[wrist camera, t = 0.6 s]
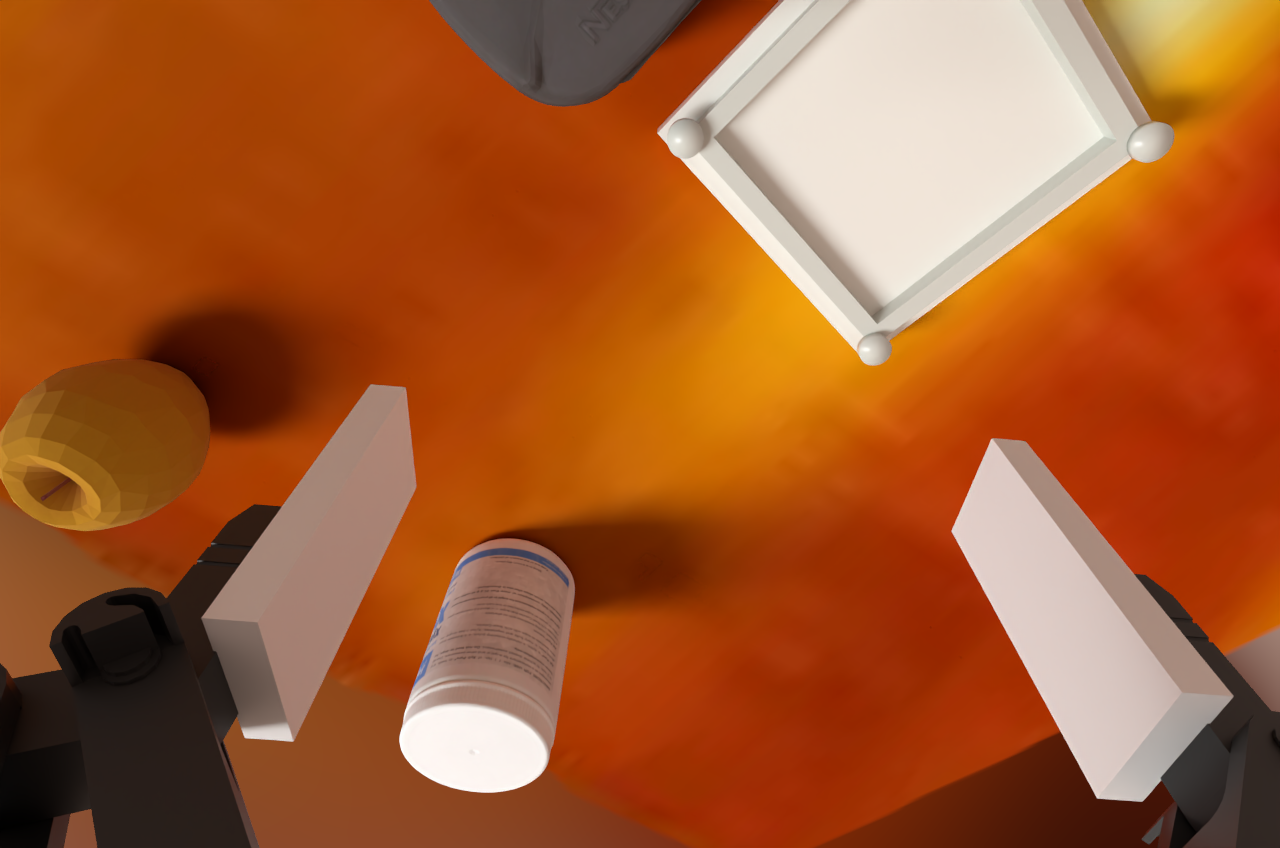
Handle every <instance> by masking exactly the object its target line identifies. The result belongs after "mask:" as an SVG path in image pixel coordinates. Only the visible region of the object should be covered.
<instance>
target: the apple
mask: <svg viewBox="0 0 1280 848" xmlns="http://www.w3.org/2000/svg"><path fill="white" fill-rule="evenodd" d="M209 441H210V420H209V409H208V406H207V403H206V400H205V397H204V395H203V394H202V393H201V392H200V390H199V389H198V388H197V386H196V385H195V384H194V382H193V381H192V380H191V379H190V378H189V377H188V376H187V375H186V374H185V373H184V372H182V371H180V370H177V369H175V368H173V367H171V366H169V365H167V364H163V363H158V362H153V361H148V360H143V359H112V360H106V361H101V362H95V363H90V364H85V365H81V366H76V367H72V368H68V369H63V370H61V371H59V372H58V373H56V374H54V375H52V376H51V377H49V378H47V379H45V380H44V381H43V382H41V383H40V384H39V385H37V386H36V387H35V388H33V389H32V390H31V391H29V392H28V393H27V394H25V395H24V396H23V397H21V399H20V401H19V403H18V405H17V406H16V408H15V410H14V412H13V413H12V415H11V417H10V418H9V420H8V421H7V423H6V425H5V426H4V428H3V429H2V431H1V432H0V478H1V480H2V481H3V483H4V485H5V487H6V489H7V491H8V492H9V494H10V496H11V498H12V500H13V501H14V502H15V503H16V504H17V505H18V506H19V507H20V508H21V509H22V510H23V511H24V512H26V513H27V514H29V515H30V516H32V517H34V518H35V519H37V520H39V521H40V522H43V523H46V524H49V525H52V526H54V527H60V528H67V529H73V530H80V531H91V530H103V529H107V528H112V527H116V526H121V525H125V524H129V523H132V522H134V521H137V520H140V519H142V518H145V517H148V516H149V515H151V514H153V513H154V512H156V511H158V510H159V509H161V508H162V507H164V506H166V505H167V504H169V503H170V502H172V501H173V500H175V499H176V498H177V497H178V496H179V495H180V494H182V493H183V492H184V491H185V490H186V489H187V488H188V487H189V486H190V485H191V484H192V482H193V481H194V480H195V479H196V478H197V476H198V475H199V474H200V472H201V469H202V467H203V464H204V461H205V458H206V455H207V451H208V448H209Z"/></svg>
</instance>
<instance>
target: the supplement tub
mask: <svg viewBox="0 0 1280 848" xmlns="http://www.w3.org/2000/svg"><path fill="white" fill-rule="evenodd" d="M574 597H575V584H574V580H573V577H572V574H571V572H570V571H569V569H568V567H567V566H566V565H565V563H564V562H563V561H562V560H561V559H560V558H559V557H558V556H557V555H556V554H554V553H553V552H552V551H550V550H549V549H547V548H545V547H543V546H541V545H539V544H537V543H534V542H530V541H527V540H521V539H512V538H506V539H496V540H491V541H488V542H485V543H482V544H480V545H477V546H476V547H474V548H472V549H471V550H470V551H468V552H467V553H466V554H465V555H464V556H463V557H462V558H461V560H460V561H459V563H458V565H457V567H456V569H455V572H454V574H453V577H452V580H451V583H450V585H449V588H448V591H447V594H446V596H445V599H444V602H443V605H442V607H441V610H440V613H439V616H438V619H437V621H436V624H435V627H434V630H433V633H432V635H431V638H430V641H429V644H428V647H427V649H426V652H425V655H424V658H423V661H422V664H421V666H420V669H419V672H418V675H417V678H416V681H415V683H414V686H413V689H412V692H411V695H410V698H409V701H408V704H407V708H406V710H405V714H404V723H403V726H402V729H401V733H400V746H401V750H402V752H403V754H404V756H405V758H406V759H407V760H408V762H409V763H410V764H411V765H412V766H413V767H414V768H415V769H416V770H418V771H419V772H420V773H422V774H423V775H425V776H427V777H428V778H430V779H432V780H434V781H436V782H438V783H440V784H443V785H446V786H449V787H452V788H456V789H460V790H466V791H472V792H501V791H507V790H511V789H516V788H519V787H522V786H524V785H526V784H528V783H530V782H532V781H533V780H534V779H536V778H537V777H538V776H539V775H540V774H541V773H542V772H543V771H544V769H545V768H546V766H547V764H548V761H549V756H550V750H551V748H552V746H553V742H554V738H555V731H556V724H557V718H558V711H559V704H560V697H561V690H562V683H563V676H564V669H565V662H566V655H567V648H568V641H569V634H570V626H571V619H572V612H573V605H574Z"/></svg>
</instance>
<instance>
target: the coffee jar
mask: <svg viewBox="0 0 1280 848" xmlns="http://www.w3.org/2000/svg"><path fill="white" fill-rule="evenodd" d="M429 1H430V2H431V3H432V5H433V6H434V7H435V8H436V10H437V11H438V12H439V14H440V15H441V16H442V17H443V18H444V20H445V21H446V22H447V23H448V24H449V25H450V27H451V28H452V29H453V30H454V31H455V32H456V33H457V34H458V35H459V37H460V38H461V39H462V40H463V41H464V42H465V43H466V44H467V45H468V46H469V47H470V48H471V49H472V50H473V51H474V52H475V53H476V54H477V55H478V56H479V57H480V58H481V59H482V60H483V61H484V62H485V63H486V64H487V65H488V66H489V67H490V68H491V69H493V70H494V71H495V72H496V73H497V74H498V75H499V76H500V77H502V78H503V79H504V80H505V81H507V82H508V83H509V84H510V85H512V86H513V87H514V88H516V89H517V90H518V91H519V92H521V93H523V94H524V95H526V96H528V97H529V98H531V99H533V100H535V101H538V102H540V103H544V104H547V105H552V106H575V105H581V104H587V103H590V102H593V101H595V100H598V99H600V98H601V97H603V96H605V95H607V94H608V93H609V92H611V91H612V90H613V89H615V88H616V87H617V86H618V85H619V84H620V83H623V82H626V81H628V80H631V79H632V77H633V76H634V75H635V74H636V73H637V72H638V71H639V69H640V68H641V67H642V66H643V65H644V63H645V62H646V61H647V60H648V59H649V58H650V56H651V55H652V54H653V53H654V52H655V51H656V50H657V49H658V48H659V47H660V46H661V44H662V43H663V42H664V41H665V40H666V39H667V38H668V37H669V36H670V34H671V33H672V32H673V31H674V30H675V28H676V27H677V26H678V25H679V24H680V23H681V22H682V21H683V20H684V19H685V18H686V16H687V15H688V14H689V13H690V12H691V11H692V10H693V9H694V8H695V7H696V6H697V5H698V3H699V2H700V1H701V0H429Z"/></svg>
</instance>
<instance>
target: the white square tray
mask: <svg viewBox="0 0 1280 848" xmlns="http://www.w3.org/2000/svg"><path fill="white" fill-rule="evenodd" d="M657 133H658V135H659V136H660V137H661V138H662V139H663V140H664V141H665V142H666V143H667V144H668V147H669V149H670V151H671V152H672V153H673V154H674V155H675V156H677V157H679V158H680V159H681V160H682V161H683V162H684V163H685V164H686V165H687V166H688V167H689V169H690V170H691V171H692V172H693V173H694V174H695V175H696V176H697V177H698V178H699V180H700V181H701V182H702V183H703V184H704V185H705V186H706V187H707V188H708V189H709V190H710V192H711V193H712V194H713V195H714V196H715V197H716V198H717V199H718V200H719V201H720V203H721V204H722V205H723V206H724V207H725V208H726V209H727V210H728V211H729V212H730V214H731V215H732V216H733V217H734V218H735V219H736V220H737V221H738V222H739V223H740V224H741V226H742V227H743V228H744V229H745V230H746V231H747V232H748V233H749V234H750V235H751V237H752V238H753V239H754V240H755V241H756V242H757V243H758V244H759V245H760V246H761V247H762V249H763V250H764V251H765V252H766V253H767V254H768V255H769V256H770V257H771V258H772V260H773V261H774V262H775V263H776V264H777V265H778V266H779V267H780V268H781V269H782V271H783V272H784V273H785V274H786V275H787V276H788V277H789V278H790V279H791V280H792V281H793V283H794V284H795V285H796V286H797V287H798V288H799V289H800V290H801V291H802V292H803V294H804V295H805V296H806V297H807V298H808V299H809V300H810V301H811V302H812V303H813V305H814V306H815V307H816V308H817V309H818V310H819V311H820V312H821V313H822V314H823V315H824V317H825V318H826V319H827V320H828V321H829V322H830V323H831V324H832V325H833V326H834V328H835V329H836V330H837V331H838V332H839V333H840V334H841V335H842V336H843V337H844V339H845V340H846V341H847V342H848V343H849V344H850V345H851V346H852V347H853V348H854V349H855V351H856V352H857V353H858V354H859V356H860V358H861V360H862V361H863V362H864V363H866V364H868V365H879V364H881V363H883V362H885V361H886V360H887V359H888V358H889V356H890V354H891V351H892V347H891V344H890V342H889V340H891V339H892V338H893V337H895V336H896V335H897V334H899V333H900V332H901V331H903V330H904V329H905V328H907V327H908V326H909V325H911V324H912V323H913V322H915V321H916V320H917V319H919V318H920V317H921V316H923V315H924V314H925V313H927V312H928V311H929V310H931V309H932V308H933V307H935V306H936V305H937V304H939V303H940V302H941V301H943V300H944V299H945V298H947V297H948V296H949V295H951V294H952V293H953V292H955V291H956V290H957V289H959V288H960V287H961V286H963V285H964V284H965V283H967V282H968V281H969V280H971V279H972V278H973V277H975V276H976V275H977V274H979V273H980V272H981V271H983V270H984V269H985V268H987V267H988V266H989V265H991V264H992V263H993V262H995V261H996V260H997V259H999V258H1000V257H1001V256H1003V255H1004V254H1005V253H1007V252H1008V251H1009V250H1011V249H1012V248H1013V247H1015V246H1016V245H1017V244H1019V243H1020V242H1021V241H1023V240H1024V239H1025V238H1027V237H1028V236H1029V235H1031V234H1032V233H1033V232H1035V231H1036V230H1037V229H1039V228H1040V227H1041V226H1043V225H1044V224H1045V223H1047V222H1048V221H1049V220H1051V219H1052V218H1053V217H1055V216H1056V215H1057V214H1059V213H1060V212H1061V211H1063V210H1064V209H1065V208H1067V207H1068V206H1069V205H1071V204H1072V203H1073V202H1075V201H1076V200H1077V199H1079V198H1080V197H1081V196H1083V195H1084V194H1085V193H1087V192H1088V191H1089V190H1091V189H1092V188H1093V187H1095V186H1096V185H1097V184H1099V183H1100V182H1101V181H1103V180H1104V179H1105V178H1107V177H1108V176H1109V175H1111V174H1112V173H1113V172H1115V171H1116V170H1117V169H1119V168H1120V167H1121V166H1123V165H1124V164H1126V163H1127V162H1128V161H1130V160H1131V159H1132V158H1133V159H1135V160H1138V161H1141V162H1146V163H1147V162H1153V161H1156V160H1158V159H1160V158H1161V157H1163V156H1164V155H1165V154H1166V153H1167V152H1168V151H1169V149H1170V148H1171V146H1172V144H1173V141H1174V131H1173V129H1172V127H1171V126H1170V125H1168V124H1165V123H1161V122H1157V121H1151V119H1150V117H1149V115H1148V114H1147V112H1146V110H1145V109H1144V107H1143V105H1142V103H1141V102H1140V100H1139V98H1138V96H1137V95H1136V93H1135V91H1134V90H1133V88H1132V86H1131V84H1130V83H1129V81H1128V79H1127V77H1126V76H1125V74H1124V72H1123V71H1122V69H1121V67H1120V65H1119V64H1118V62H1117V60H1116V58H1115V57H1114V55H1113V53H1112V52H1111V50H1110V48H1109V46H1108V45H1107V43H1106V41H1105V39H1104V38H1103V36H1102V34H1101V32H1100V31H1099V29H1098V27H1097V26H1096V24H1095V22H1094V20H1093V19H1092V17H1091V15H1090V13H1089V12H1088V10H1087V8H1086V7H1085V5H1084V3H1083V1H1082V0H779V1H778V2H777V4H776V5H775V6H774V7H773V8H772V9H771V10H770V11H769V12H768V13H767V14H766V15H765V16H764V17H763V18H762V19H761V20H760V21H759V22H758V24H757V25H756V26H755V27H754V28H753V29H752V30H751V31H750V32H749V33H748V34H747V35H746V36H745V37H744V38H743V39H742V40H741V41H740V42H739V44H738V45H737V46H736V47H735V48H734V49H733V50H732V51H731V52H730V53H729V54H728V55H727V56H726V57H725V58H724V59H723V60H722V61H721V63H720V64H719V65H718V66H717V67H716V68H715V69H714V70H713V71H712V72H711V73H710V74H709V75H708V76H707V77H706V78H705V79H704V80H703V81H702V83H701V84H700V85H699V86H698V87H697V88H696V89H695V90H694V91H693V92H692V93H691V94H690V95H689V96H688V97H687V98H686V99H685V100H684V101H683V103H682V104H681V105H680V106H679V107H678V108H677V109H676V110H675V111H674V112H673V113H672V114H671V115H670V116H669V117H668V118H667V119H666V120H665V122H664V123H663V124H662V125H661V126H660V127H659V128H658V131H657Z"/></svg>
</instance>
